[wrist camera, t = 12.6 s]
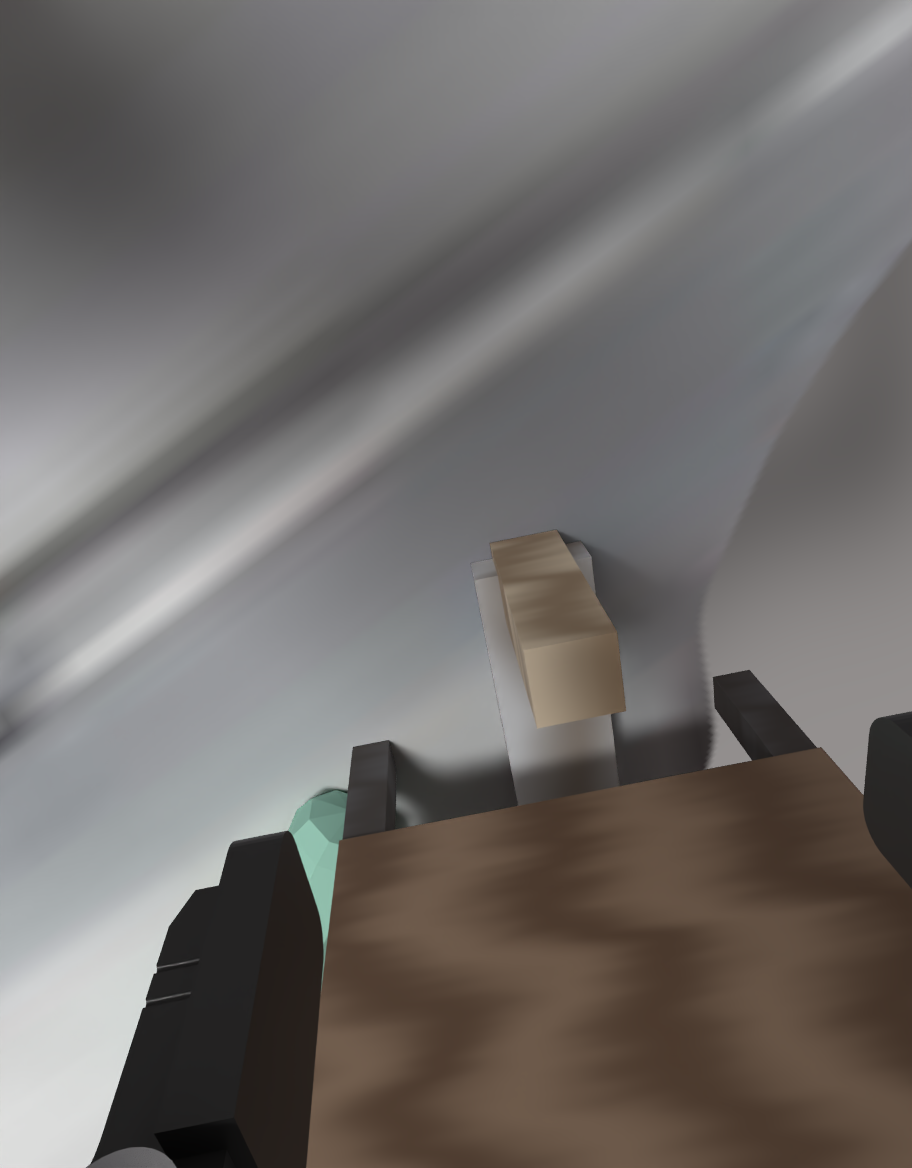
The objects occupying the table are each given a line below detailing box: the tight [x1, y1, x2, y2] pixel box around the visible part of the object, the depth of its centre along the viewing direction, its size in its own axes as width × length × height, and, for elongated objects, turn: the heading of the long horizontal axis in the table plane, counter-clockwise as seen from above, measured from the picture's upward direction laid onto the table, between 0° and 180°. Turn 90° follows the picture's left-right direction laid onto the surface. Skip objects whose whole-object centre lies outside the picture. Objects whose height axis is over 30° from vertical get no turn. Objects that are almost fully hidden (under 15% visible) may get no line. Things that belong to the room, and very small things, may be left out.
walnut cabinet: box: [306, 670, 912, 1168], centre depth 27 cm, size 20×10×22 cm, turn 101°
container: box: [288, 790, 348, 988], centre depth 39 cm, size 6×6×25 cm
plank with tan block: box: [471, 530, 626, 806], centre depth 32 cm, size 5×25×10 cm, turn 11°
